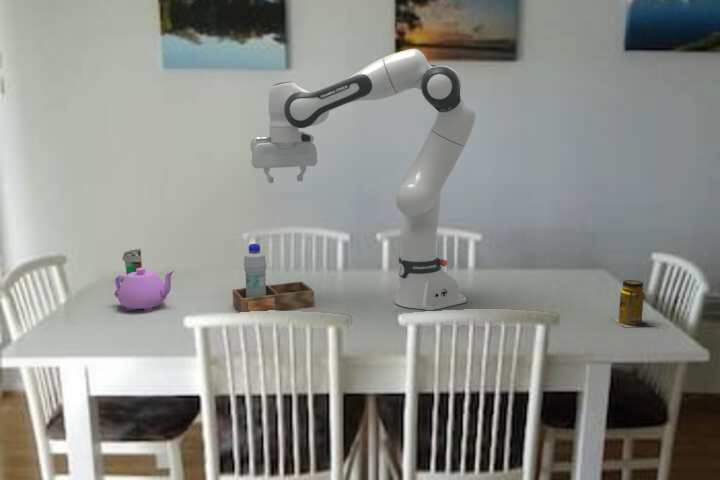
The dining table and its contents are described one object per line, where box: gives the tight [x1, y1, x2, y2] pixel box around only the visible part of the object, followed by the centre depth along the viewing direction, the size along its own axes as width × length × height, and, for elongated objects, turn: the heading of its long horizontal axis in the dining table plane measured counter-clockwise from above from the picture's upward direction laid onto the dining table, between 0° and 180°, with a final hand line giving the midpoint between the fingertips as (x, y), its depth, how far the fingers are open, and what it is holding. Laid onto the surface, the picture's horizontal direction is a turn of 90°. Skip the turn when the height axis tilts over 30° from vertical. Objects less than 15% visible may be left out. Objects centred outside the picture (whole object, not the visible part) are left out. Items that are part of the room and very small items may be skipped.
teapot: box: [114, 267, 176, 312], centre depth 200 cm, size 20×14×12 cm
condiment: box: [613, 279, 654, 328], centre depth 183 cm, size 7×8×12 cm
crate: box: [232, 281, 315, 313], centre depth 201 cm, size 22×12×5 cm, turn 113°
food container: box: [121, 248, 143, 275], centre depth 231 cm, size 12×6×10 cm, turn 17°
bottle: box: [243, 243, 267, 298], centre depth 198 cm, size 7×7×20 cm
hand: (285, 181), depth 203 cm, fingers open, 8 cm apart
